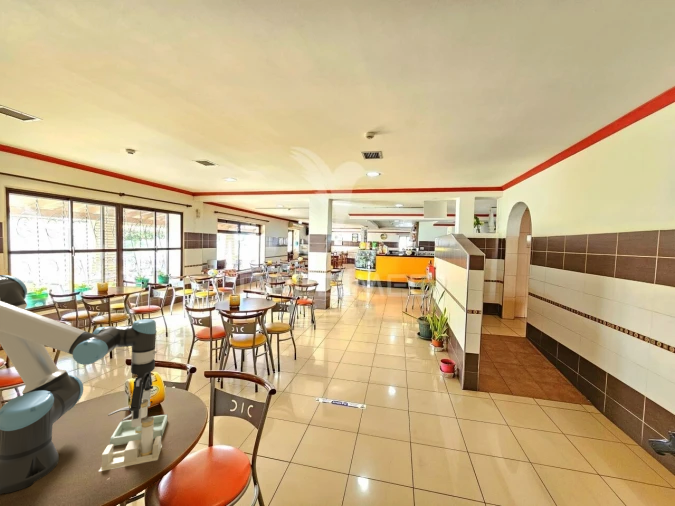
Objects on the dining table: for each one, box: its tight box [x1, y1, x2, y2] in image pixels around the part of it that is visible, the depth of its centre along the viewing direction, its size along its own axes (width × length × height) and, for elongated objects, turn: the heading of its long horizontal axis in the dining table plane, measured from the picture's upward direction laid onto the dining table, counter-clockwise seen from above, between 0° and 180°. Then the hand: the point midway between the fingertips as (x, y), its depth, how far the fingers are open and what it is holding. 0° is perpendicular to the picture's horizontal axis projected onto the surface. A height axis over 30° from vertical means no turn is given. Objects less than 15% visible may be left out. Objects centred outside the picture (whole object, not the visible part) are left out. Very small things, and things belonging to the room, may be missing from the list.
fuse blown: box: [135, 399, 149, 433], centre depth 109 cm, size 4×4×12 cm
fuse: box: [140, 416, 154, 457], centre depth 98 cm, size 4×4×12 cm
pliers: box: [107, 405, 132, 421], centre depth 126 cm, size 10×2×15 cm
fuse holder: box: [98, 436, 163, 472], centre depth 96 cm, size 16×8×5 cm, turn 111°
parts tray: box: [109, 413, 169, 447], centre depth 109 cm, size 16×11×4 cm
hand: (141, 415), depth 109 cm, fingers open, 13 cm apart
